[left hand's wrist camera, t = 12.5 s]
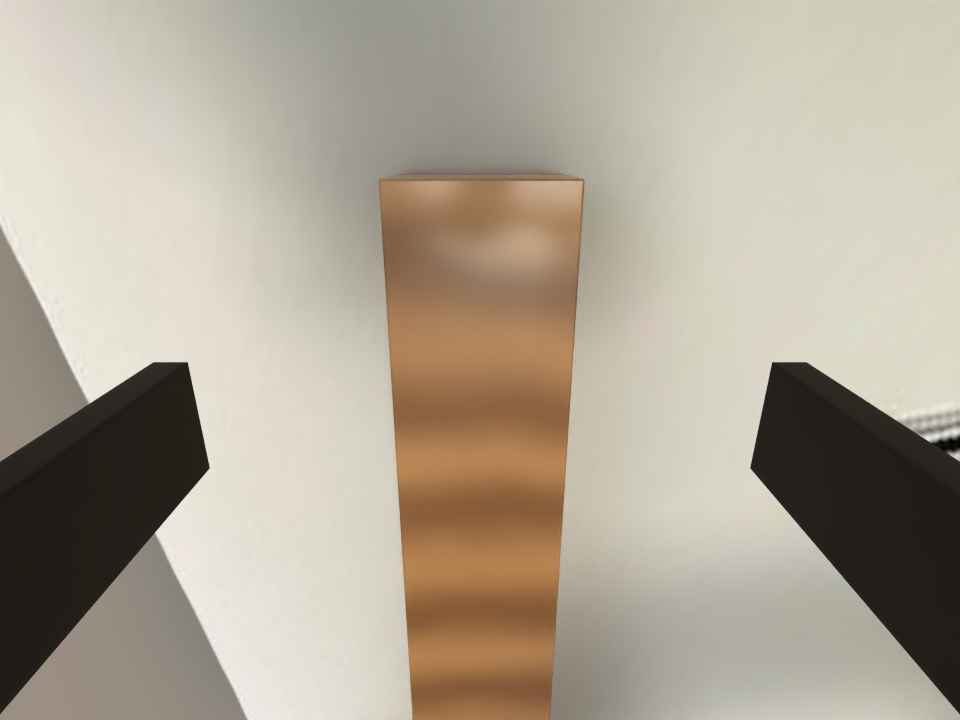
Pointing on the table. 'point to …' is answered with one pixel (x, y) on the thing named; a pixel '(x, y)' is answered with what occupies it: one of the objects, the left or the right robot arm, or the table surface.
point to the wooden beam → (481, 428)
